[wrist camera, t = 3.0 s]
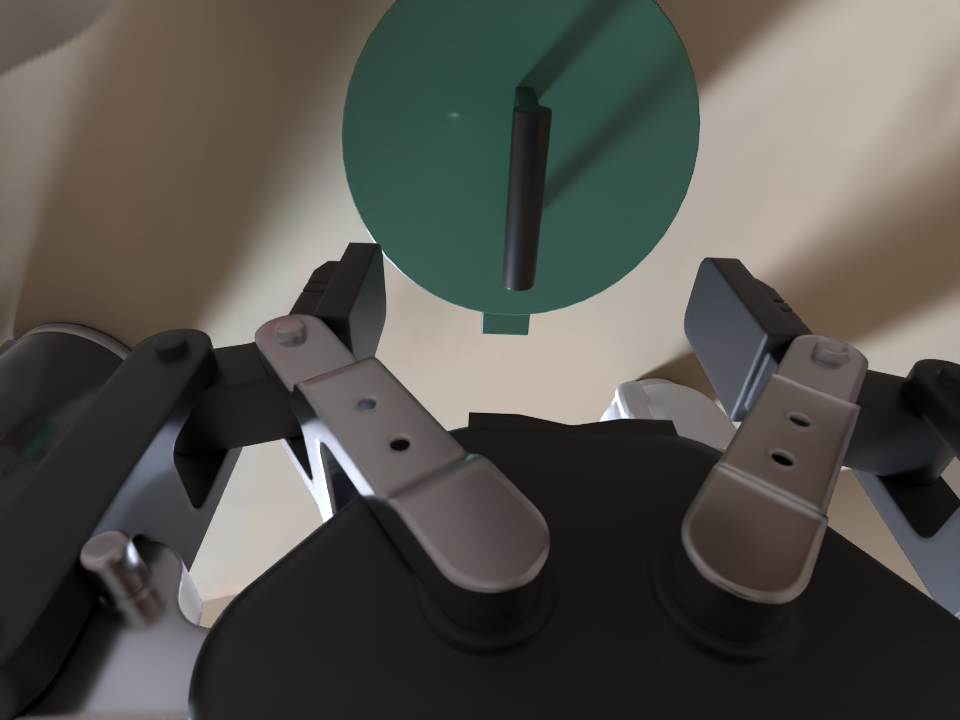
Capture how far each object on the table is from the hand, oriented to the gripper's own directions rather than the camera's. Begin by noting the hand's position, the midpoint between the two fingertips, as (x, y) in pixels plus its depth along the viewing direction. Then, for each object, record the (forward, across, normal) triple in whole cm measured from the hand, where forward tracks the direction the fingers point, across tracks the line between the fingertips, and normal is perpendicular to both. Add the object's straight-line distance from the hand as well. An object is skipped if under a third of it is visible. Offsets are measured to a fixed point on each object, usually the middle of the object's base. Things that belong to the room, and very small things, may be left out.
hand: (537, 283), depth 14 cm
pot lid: (+10, 0, 0) cm, 11 cm away
